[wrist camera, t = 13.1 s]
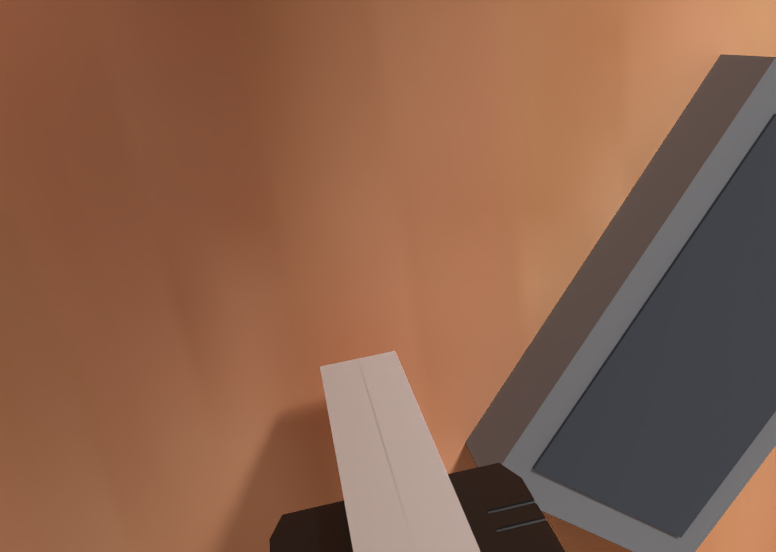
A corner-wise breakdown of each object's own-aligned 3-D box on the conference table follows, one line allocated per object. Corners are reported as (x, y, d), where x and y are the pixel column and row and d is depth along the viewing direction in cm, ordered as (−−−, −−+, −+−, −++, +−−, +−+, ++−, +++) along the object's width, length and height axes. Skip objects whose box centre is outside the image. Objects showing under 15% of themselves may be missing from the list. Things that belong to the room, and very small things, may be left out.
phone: (713, 54, 16) (778, 57, 14) (884, 180, 17) (965, 199, 15) (462, 437, 17) (488, 488, 15) (638, 518, 19) (681, 574, 17)
